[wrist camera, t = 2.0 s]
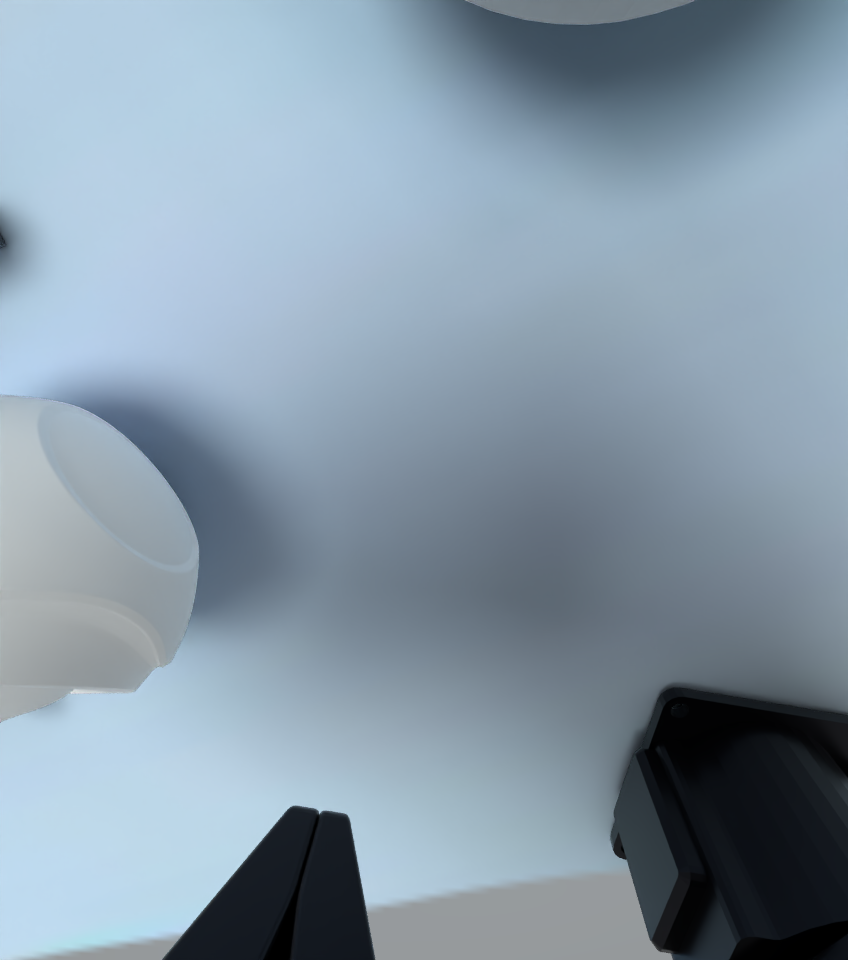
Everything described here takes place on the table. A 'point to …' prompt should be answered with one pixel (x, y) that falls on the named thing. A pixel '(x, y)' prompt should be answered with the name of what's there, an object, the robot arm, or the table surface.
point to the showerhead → (578, 9)
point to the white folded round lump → (85, 558)
